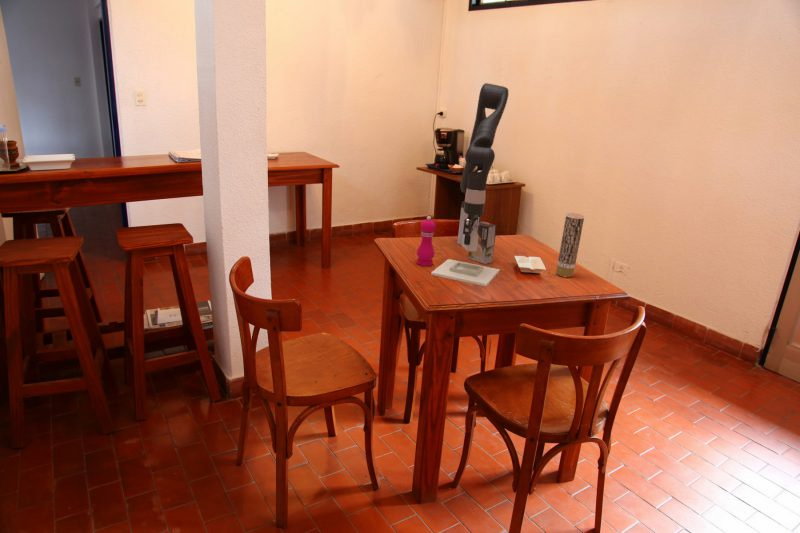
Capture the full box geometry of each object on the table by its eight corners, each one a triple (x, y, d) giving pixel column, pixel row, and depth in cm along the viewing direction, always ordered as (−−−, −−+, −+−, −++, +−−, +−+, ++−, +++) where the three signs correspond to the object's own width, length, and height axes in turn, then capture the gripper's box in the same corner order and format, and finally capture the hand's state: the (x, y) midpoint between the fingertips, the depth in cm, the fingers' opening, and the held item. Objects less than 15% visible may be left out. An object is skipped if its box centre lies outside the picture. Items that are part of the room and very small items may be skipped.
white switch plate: (448, 261, 225) (448, 255, 224) (499, 271, 217) (500, 265, 216) (431, 274, 207) (431, 268, 207) (486, 286, 199) (487, 280, 199)
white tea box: (467, 251, 205) (470, 226, 202) (461, 246, 211) (464, 221, 208) (476, 251, 206) (479, 226, 203) (470, 246, 212) (473, 221, 209)
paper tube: (561, 271, 223) (571, 212, 215) (576, 276, 219) (587, 216, 210) (552, 274, 218) (563, 214, 210) (567, 279, 214) (579, 218, 206)
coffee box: (493, 261, 229) (498, 225, 224) (484, 264, 224) (489, 227, 219) (475, 256, 235) (480, 220, 230) (466, 258, 230) (471, 222, 225)
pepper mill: (432, 267, 216) (436, 219, 209) (414, 265, 217) (418, 217, 210) (434, 262, 222) (439, 215, 216) (417, 260, 224) (421, 213, 217)
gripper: (479, 205, 195) (474, 248, 200) (489, 199, 208) (484, 239, 213) (459, 202, 198) (454, 244, 203) (470, 196, 210) (466, 236, 216)
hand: (469, 242), depth 208 cm, fingers closed on white tea box, 7 cm apart
